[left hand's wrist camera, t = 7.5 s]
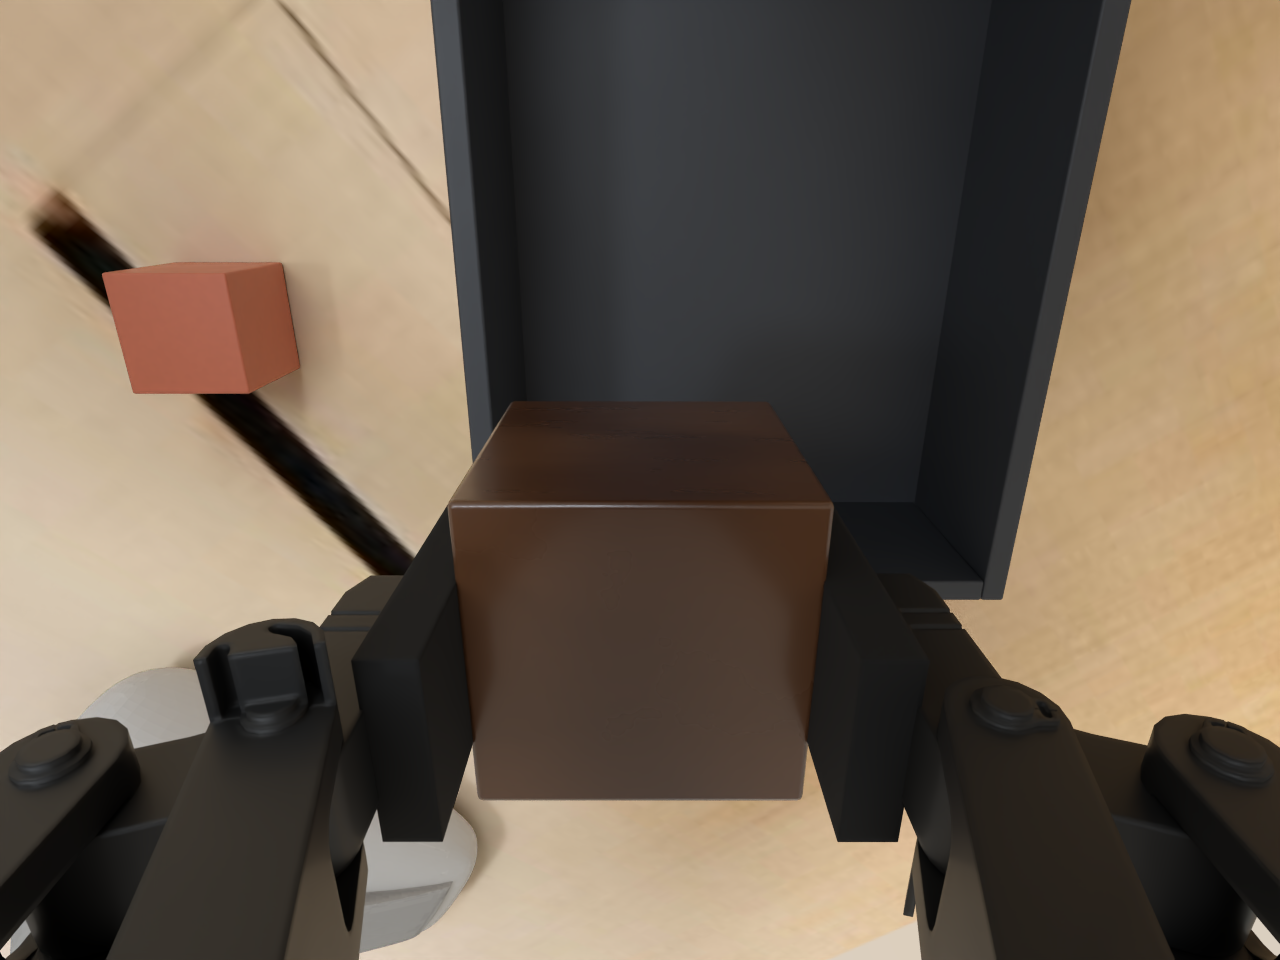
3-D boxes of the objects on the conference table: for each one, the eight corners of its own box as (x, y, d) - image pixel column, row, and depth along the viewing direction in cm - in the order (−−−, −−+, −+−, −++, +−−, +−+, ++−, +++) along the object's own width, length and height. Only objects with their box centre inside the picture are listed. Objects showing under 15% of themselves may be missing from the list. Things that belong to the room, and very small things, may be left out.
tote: (519, 510, 25) (407, 800, 13) (462, -333, 17) (33, -1591, 5) (923, 510, 25) (1181, 801, 13) (1058, -334, 17) (2059, -1595, 5)
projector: (211, 942, 50) (52, 1221, 36) (12, 683, 42) (-289, 916, 28) (509, 872, 48) (456, 1143, 34) (357, 583, 40) (209, 785, 26)
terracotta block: (199, 368, 35) (132, 394, 31) (174, 262, 34) (100, 272, 29) (300, 368, 35) (249, 394, 31) (282, 262, 34) (224, 272, 29)
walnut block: (525, 623, 16) (477, 803, 11) (510, 399, 14) (444, 502, 9) (754, 623, 16) (803, 803, 11) (770, 400, 14) (836, 502, 9)
